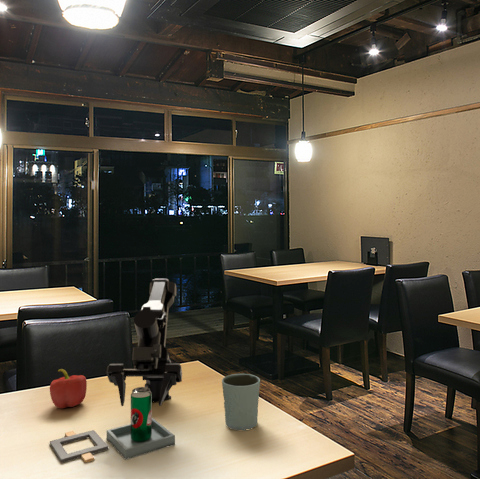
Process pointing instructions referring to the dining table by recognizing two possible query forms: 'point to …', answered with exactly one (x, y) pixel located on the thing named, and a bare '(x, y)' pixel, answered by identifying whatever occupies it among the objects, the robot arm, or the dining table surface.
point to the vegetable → (68, 390)
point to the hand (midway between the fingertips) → (140, 405)
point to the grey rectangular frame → (84, 454)
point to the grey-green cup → (241, 400)
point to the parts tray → (131, 449)
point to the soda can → (141, 414)
